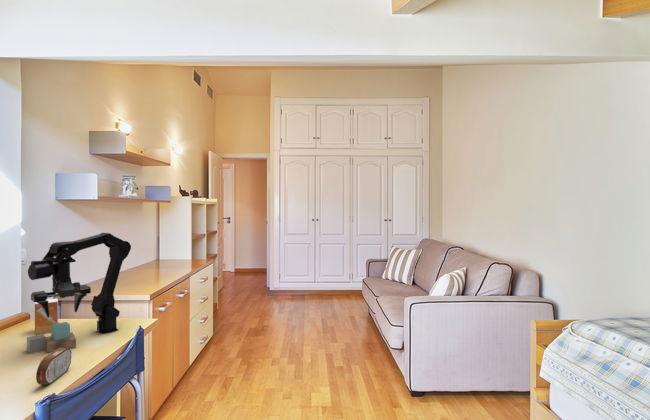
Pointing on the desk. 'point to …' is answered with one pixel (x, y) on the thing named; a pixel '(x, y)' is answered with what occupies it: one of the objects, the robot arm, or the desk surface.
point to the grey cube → (36, 343)
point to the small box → (41, 319)
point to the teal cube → (60, 331)
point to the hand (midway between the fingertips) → (62, 314)
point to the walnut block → (60, 343)
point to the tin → (53, 366)
